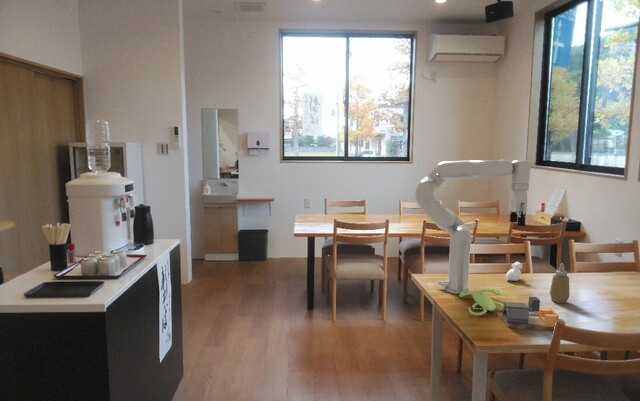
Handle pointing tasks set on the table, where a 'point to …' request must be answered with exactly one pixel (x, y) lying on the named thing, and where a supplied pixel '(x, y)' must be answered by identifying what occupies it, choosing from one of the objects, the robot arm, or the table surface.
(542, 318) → the orange socket
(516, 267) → the bust
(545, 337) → the table surface
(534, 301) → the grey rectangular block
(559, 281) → the squeeze bottle
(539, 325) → the walnut board
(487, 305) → the figurine
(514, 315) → the grey sleeve
